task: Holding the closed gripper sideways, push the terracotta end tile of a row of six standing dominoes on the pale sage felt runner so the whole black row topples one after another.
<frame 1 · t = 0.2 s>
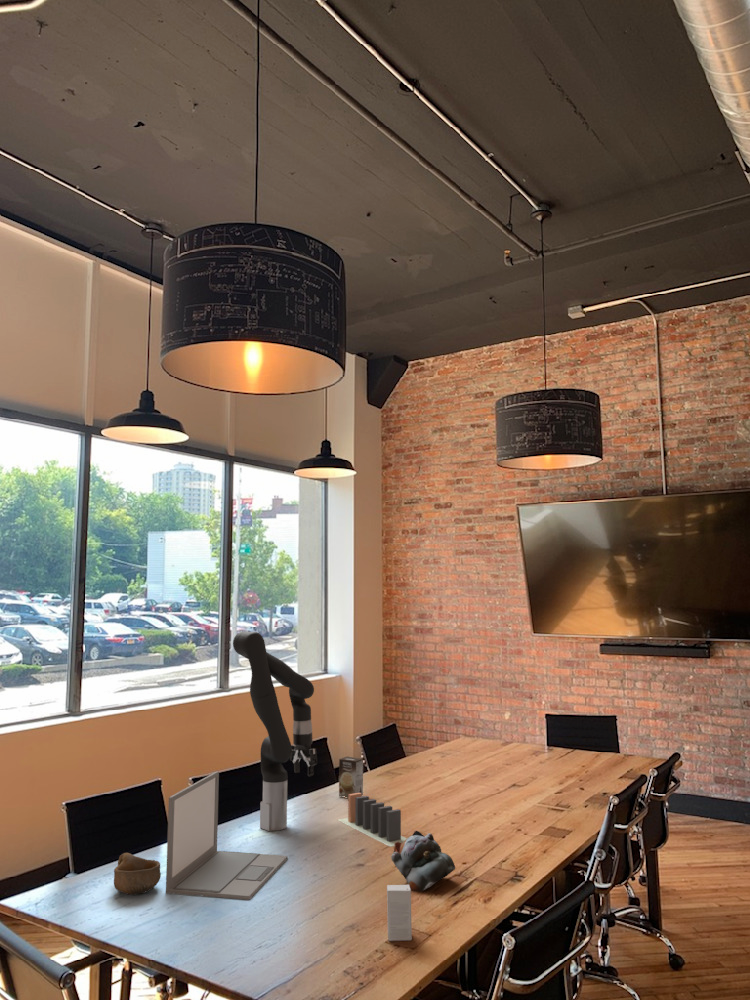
hand: (303, 774, 294), 17 cm above the table, fingers open, 8 cm apart
coffee box: (350, 797, 327), on the table
bowl: (132, 890, 223), on the table
felt runner: (373, 831, 278), on the table
domino 6: (393, 840, 267), resting on felt runner
laptop: (229, 876, 235), on the table
domino 2: (362, 824, 285), resting on felt runner
skincare box: (399, 938, 191), on the table
lucky cat figurine: (423, 884, 227), on the table
domino 1: (354, 821, 290), resting on felt runner
domino 5: (385, 836, 272), resting on felt runner
domino 4: (377, 832, 276), resting on felt runner
domino 3: (369, 828, 281), resting on felt runner
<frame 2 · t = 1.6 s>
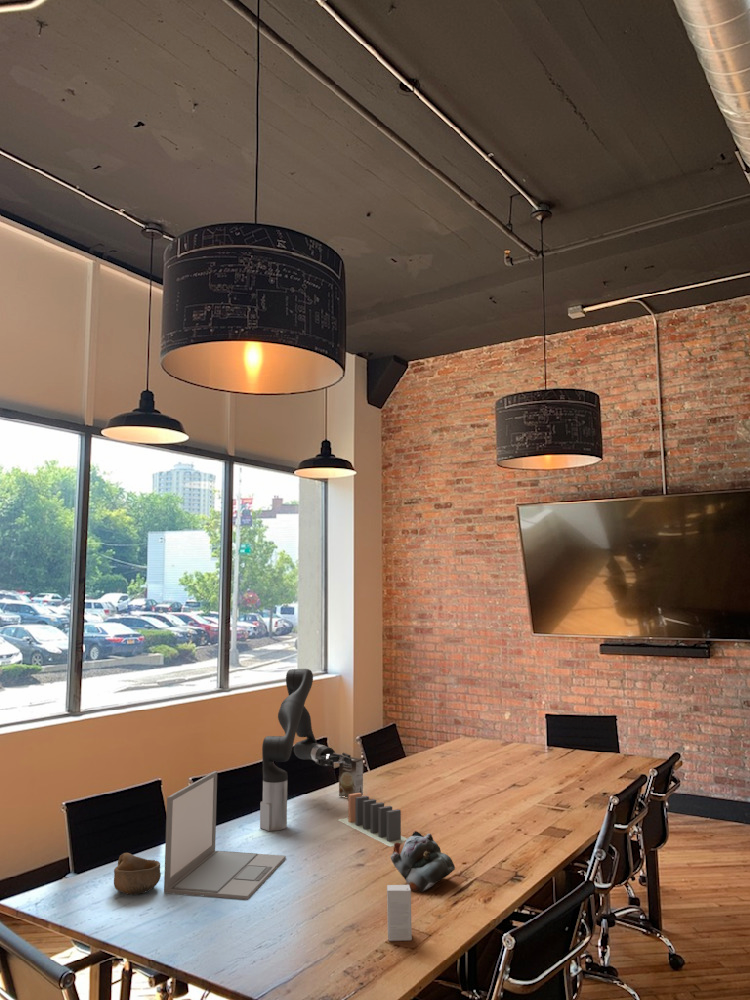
hand: (341, 762, 302), 20 cm above the table, fingers open, 7 cm apart
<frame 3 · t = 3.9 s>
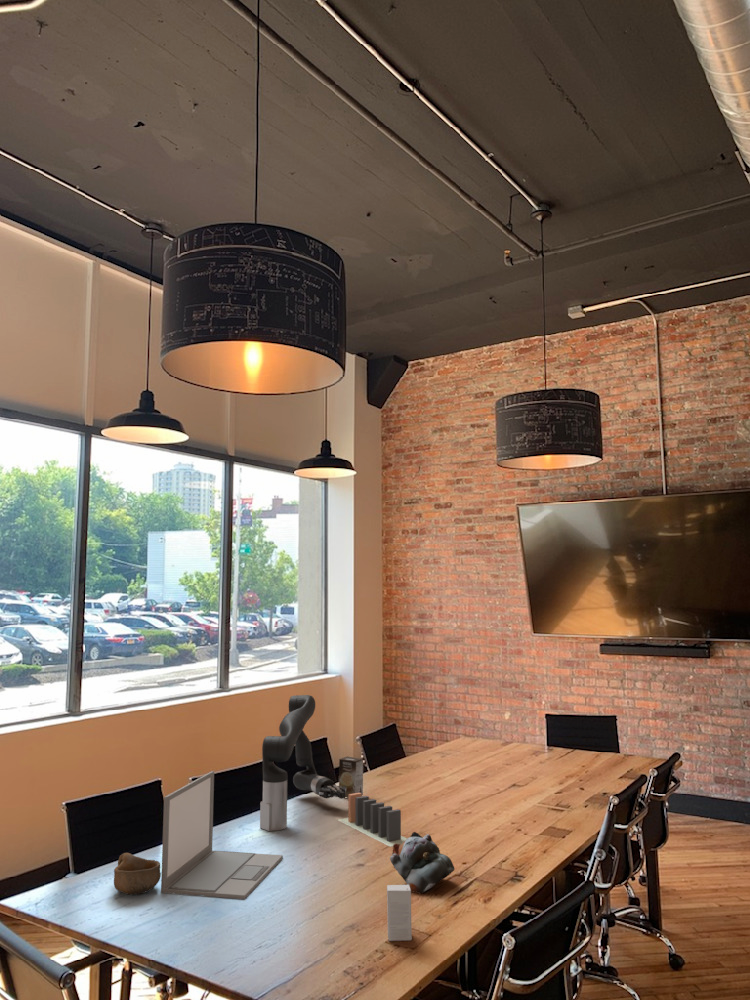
hand: (343, 795, 299), 8 cm above the table, fingers closed
laptop: (225, 876, 235), on the table
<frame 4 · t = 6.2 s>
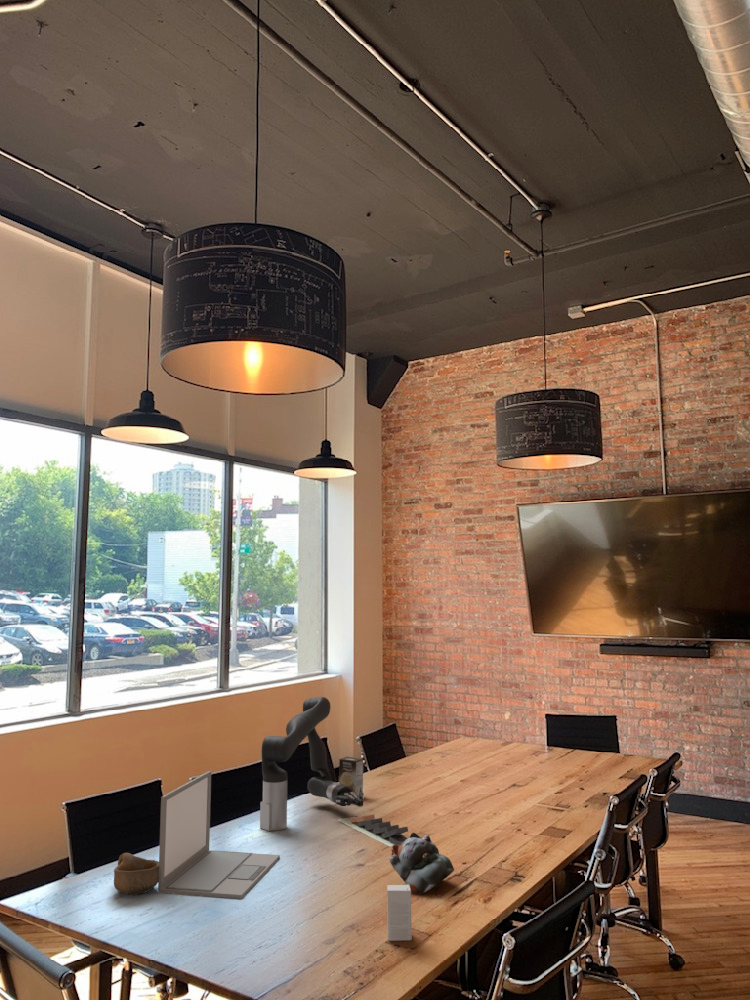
hand: (361, 803, 287), 8 cm above the table, fingers closed
domino 6: (395, 837, 266), point 2 cm above the table, tilted 94°, touching felt runner
laptop: (222, 875, 235), on the table
domino 2: (363, 823, 285), point 1 cm above the table, tilted 73°, touching domino 1, domino 3
domino 1: (356, 819, 289), point 1 cm above the table, tilted 73°, touching domino 2, felt runner
domino 5: (387, 835, 270), point 1 cm above the table, tilted 67°, touching felt runner
domino 4: (378, 830, 275), point 1 cm above the table, tilted 71°, touching felt runner
domino 3: (371, 826, 280), point 1 cm above the table, tilted 72°, touching domino 2, felt runner
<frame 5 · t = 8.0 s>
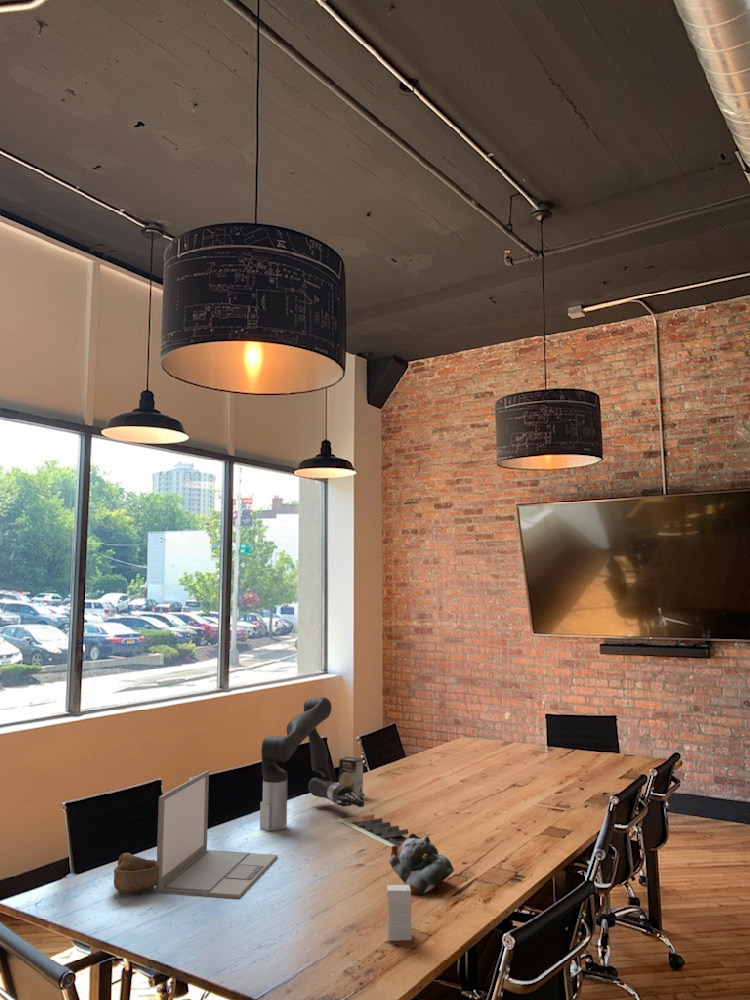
hand: (362, 804, 286), 8 cm above the table, fingers closed
domino 6: (395, 838, 266), point 1 cm above the table, tilted 90°, touching domino 5, felt runner
domino 2: (363, 823, 285), point 1 cm above the table, tilted 73°, touching domino 1, domino 3, felt runner
domino 5: (387, 834, 270), point 1 cm above the table, tilted 72°, touching domino 4, domino 6, felt runner
domino 4: (378, 830, 275), point 1 cm above the table, tilted 73°, touching domino 3, domino 5, felt runner
domino 3: (371, 826, 280), point 1 cm above the table, tilted 73°, touching domino 2, domino 4, felt runner
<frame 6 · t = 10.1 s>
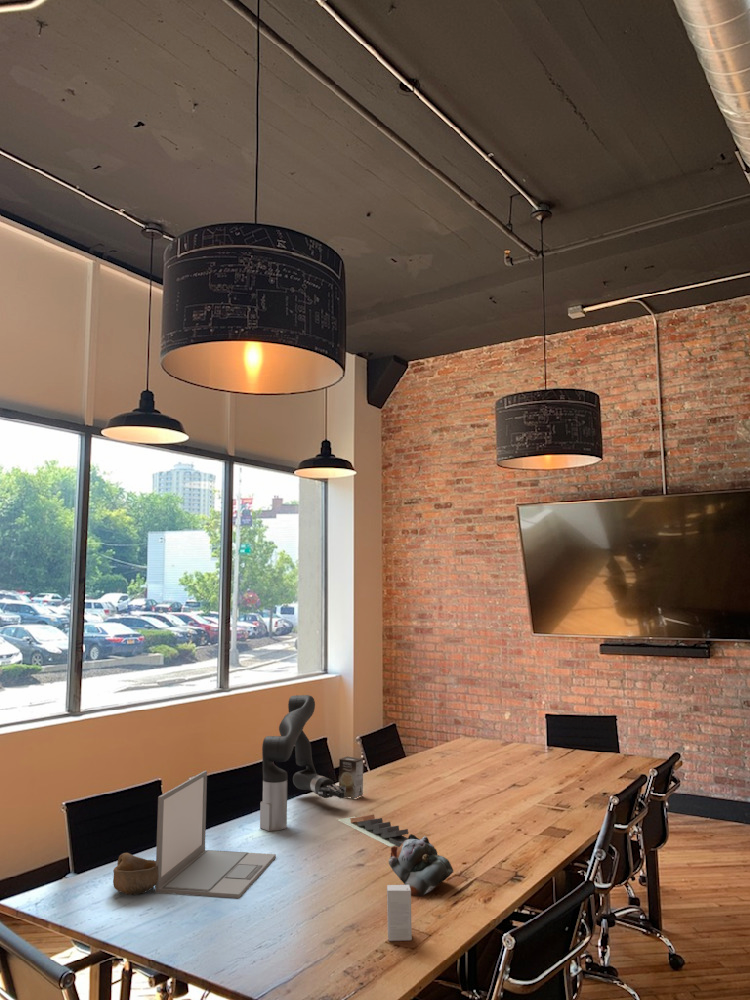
hand: (342, 795, 299), 8 cm above the table, fingers closed
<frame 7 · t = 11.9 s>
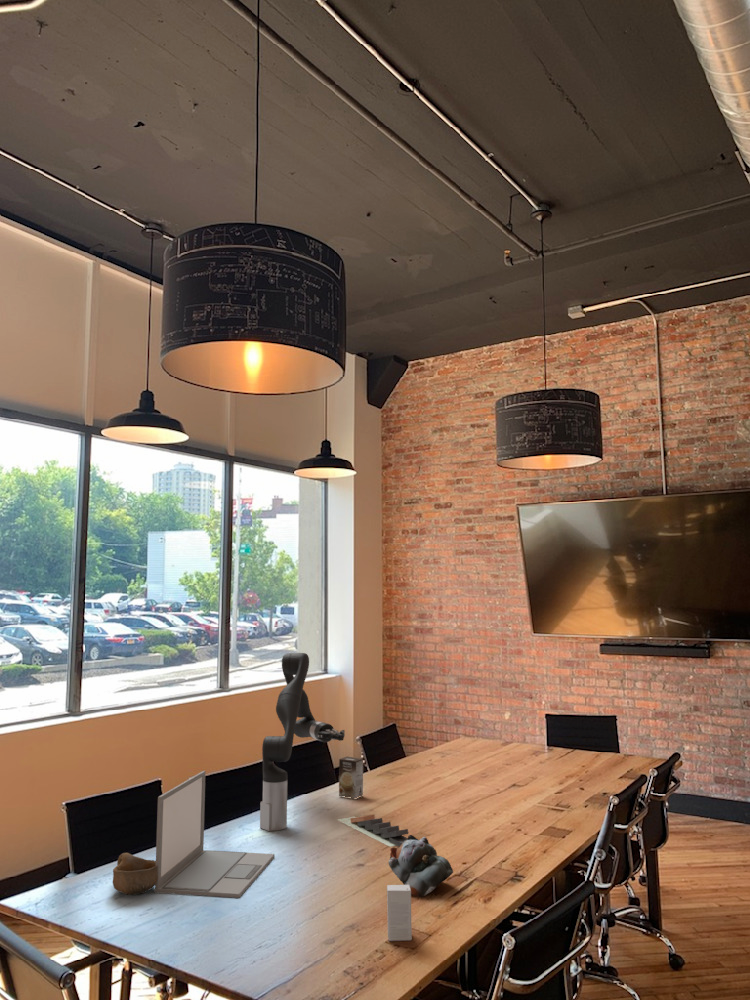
hand: (341, 737, 302), 30 cm above the table, fingers closed
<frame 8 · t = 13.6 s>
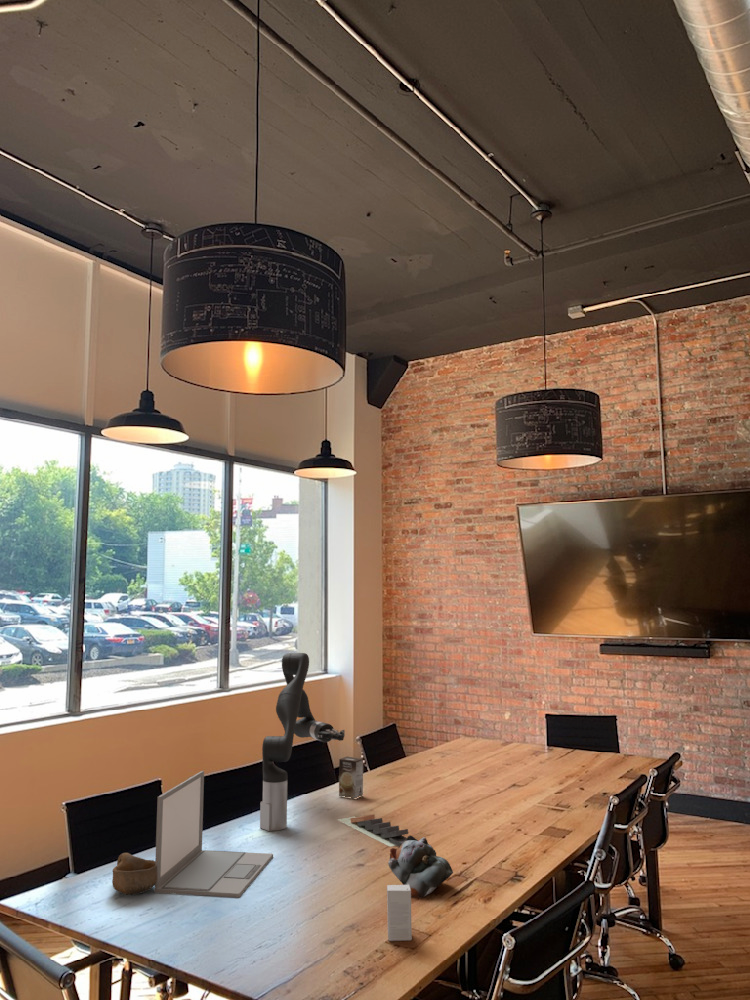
hand: (341, 737, 302), 30 cm above the table, fingers closed
at the end: domino 6 tilted 90°; domino 1 tilted 73° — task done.
